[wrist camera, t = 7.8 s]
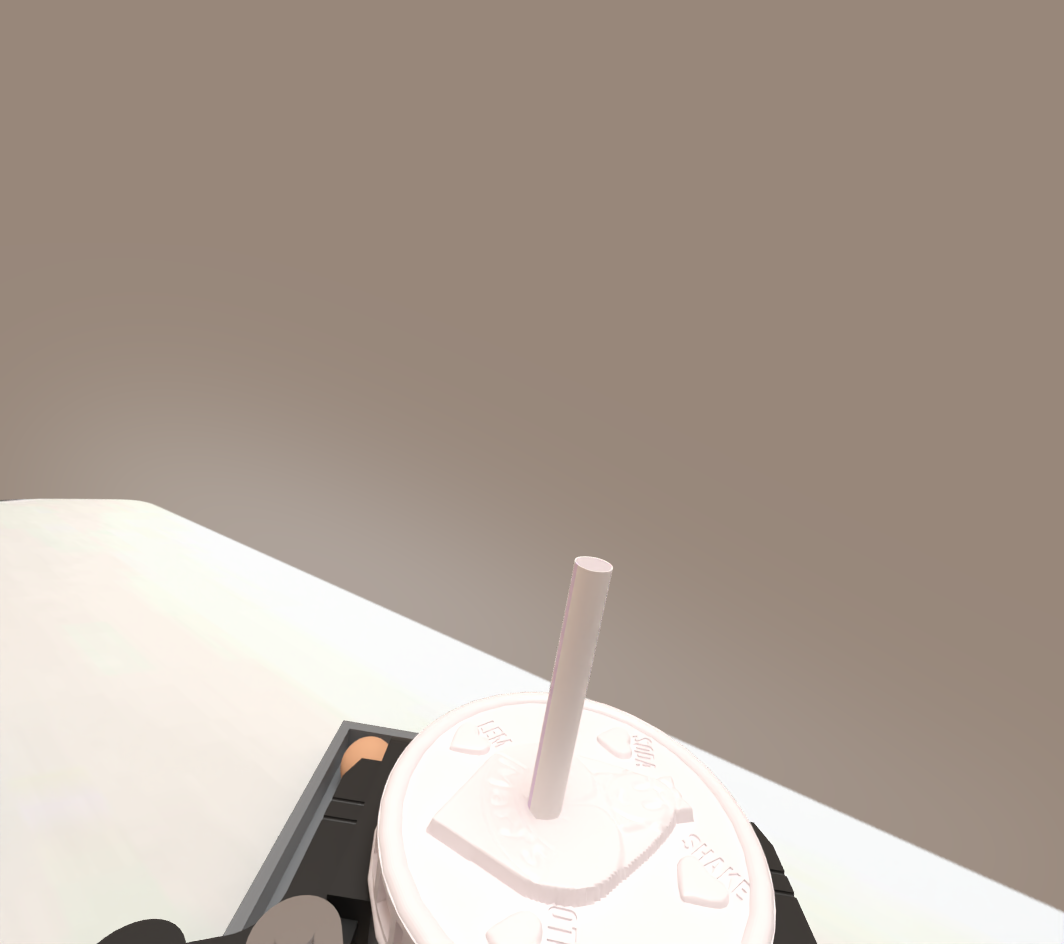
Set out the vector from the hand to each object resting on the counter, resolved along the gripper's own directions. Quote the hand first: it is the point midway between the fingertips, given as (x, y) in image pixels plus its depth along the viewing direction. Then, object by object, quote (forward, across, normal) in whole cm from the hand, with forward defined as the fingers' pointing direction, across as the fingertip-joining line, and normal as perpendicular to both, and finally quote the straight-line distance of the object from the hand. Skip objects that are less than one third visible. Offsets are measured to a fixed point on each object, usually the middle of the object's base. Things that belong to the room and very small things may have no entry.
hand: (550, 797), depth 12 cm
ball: (+17, +8, +17) cm, 25 cm away
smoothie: (-2, 0, +8) cm, 8 cm away
